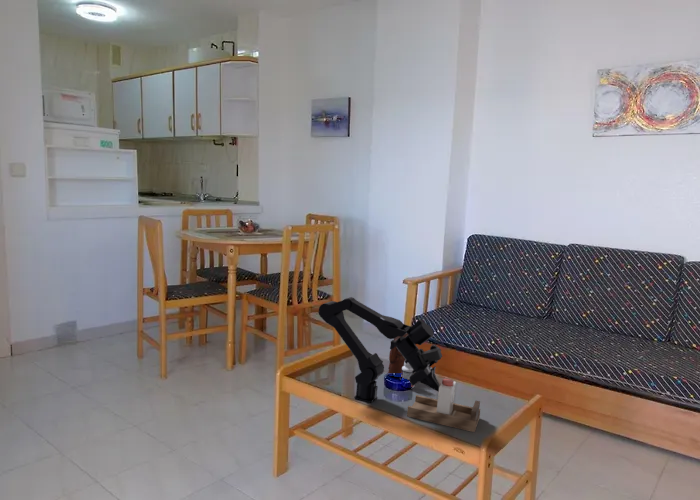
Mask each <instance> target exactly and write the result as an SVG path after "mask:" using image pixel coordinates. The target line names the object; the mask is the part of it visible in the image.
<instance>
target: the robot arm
mask: <svg viewBox="0 0 700 500" xmlns="http://www.w3.org/2000/svg"><path fill="white" fill-rule="evenodd" d="M344 311H348V312H351V313H352V314H354V315H355V316H357V317H359V318H361V319H363V320H364V321H366V322H367V323H370V324H371V325H373V326H374V327H375V328H376V329H377V330H378V332H379V333H380V334H382V335H383V336H384V337H385V338H386V339H389V340H391V341H390V347H389V349H390V350H392V349H393V348H394V347H397V349H398V350H399V351H400V353H401V354H402V355H403V357H404V358H405V359H406V360H405V363H406V364H407V363H409V365H410V366H411V367H412V369H413V371H412V372H413V374H412V375H411V376H410V378H409V381H410V383H411V384H412V385H416V384H417V383H422V384H423V385H425V386H427V387H429V388H431V389H433V390H435V391H436V392H438V393H439V386H440V385H441V384H440V383H439V380H438V378H437V376H436V368H437V367H436V366H433V365H434V364H437V363H438V362H439V361H440V360H441V359H442V357H443V354H442V349H441V348H440V347H439V346H437V345H436V344H432V345H431V346H430V348H429V349H428V350H425V351H424V349H423V348H419V347H418V346H421V345H423V344H424V343H426V342H427V341H428V340H429V339H431V338H432V337H434V335H435V334H434V330H433V329H432V327H431V326H430V325H428V323H426V322H425V321H423V319H419V320H418V321H416V322H415V323H414V324H413V325H412V326H410V325H408V324H406V323H403V321H401V320H400V319H397V318H395V317H392V316H387V315H384V314H381V313H380V312H377V310H374V309H373V308H371V307H369V306H367V305H366V304H364V303H362V302H360V301H359V300H357V299H356V298H354V297H352V296H351V297H346V298H344V299H342V300H339V301H336V300H335V301H334V300H331V301H328V302H325V303H322V304H321V305H320V306H319V307H318V315H319V317H320V318H321V319H322V320H323V321H324V322H325V323H326V324H328V325H330V326H331V327H332V328H334V330H335V331H336V332H337V334H338V336H340V338H341V340H342V341H343V342H344V343H345V345H346V346H347V347H348V350H350V351H351V354H353V356H354V357H355V359H356V360H357V363H358V364H357V365H358V369H359V370H360V373H358V374H357V375H356V376H355V377H354V379H355V383H356V392H355V396H354V397H353V398H355V400H358V399H359V401H362V400H363V402H367V403H373V401H375V399H376V398H377V397H378V396H377V395H378V385H377V383H378V382H377V381H376V380H378V379H379V377H380V376H382V375H383V374H384V372H385V365H384V360H382V359H381V358H380V357H379V355H378V353H376V352H375V353H373V354H372V353H371V352H369V351H368V350H367V348H366V347H365V345H364V344H363V343H362V341H361V340H360V339H359V337H358V336H357V335H356V333H355V331H354V330H353V329H352V328H351V326H350V325H349V323H348V322H347V321H346V318H345V315H344ZM407 333H408V336H406V337H403V335H405V334H407ZM398 336H401V337H400V338H398V339H397V340H394V338H396V337H398ZM417 345H418V346H417ZM432 366H433V367H432Z"/></svg>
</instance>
